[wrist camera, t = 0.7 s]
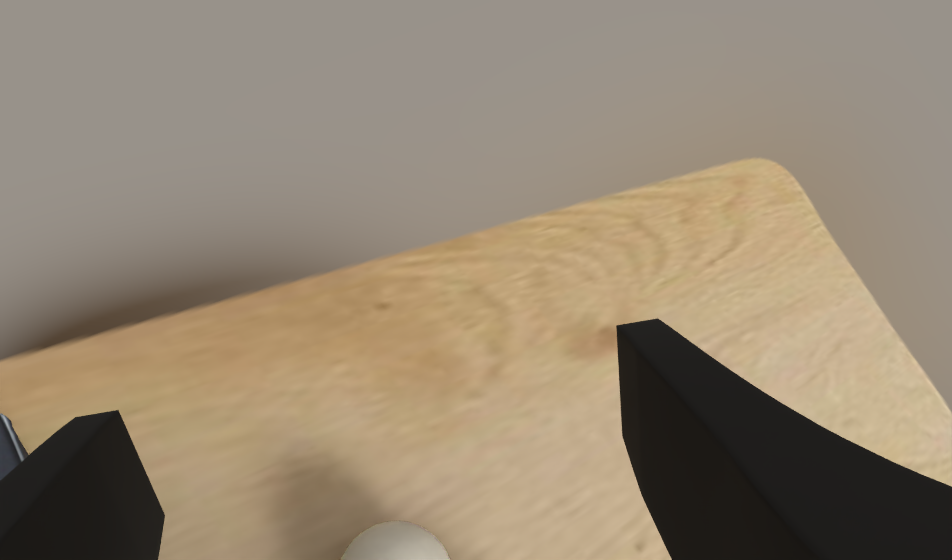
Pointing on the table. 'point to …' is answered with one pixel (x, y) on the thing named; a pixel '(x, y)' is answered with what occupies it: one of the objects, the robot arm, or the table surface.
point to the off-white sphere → (395, 543)
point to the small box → (9, 447)
